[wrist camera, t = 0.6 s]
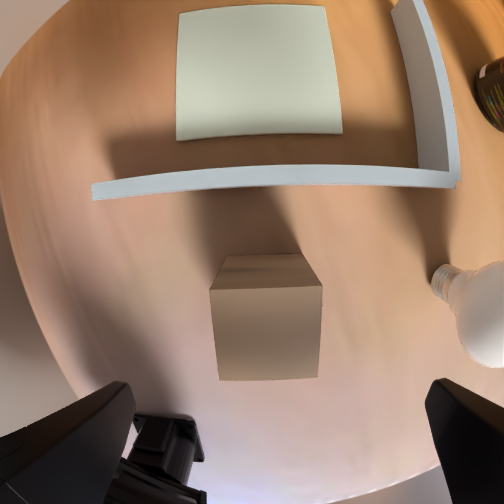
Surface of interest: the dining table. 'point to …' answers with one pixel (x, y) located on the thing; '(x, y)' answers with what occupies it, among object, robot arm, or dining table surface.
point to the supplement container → (491, 92)
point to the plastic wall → (427, 176)
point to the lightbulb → (476, 309)
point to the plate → (255, 72)
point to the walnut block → (266, 318)
